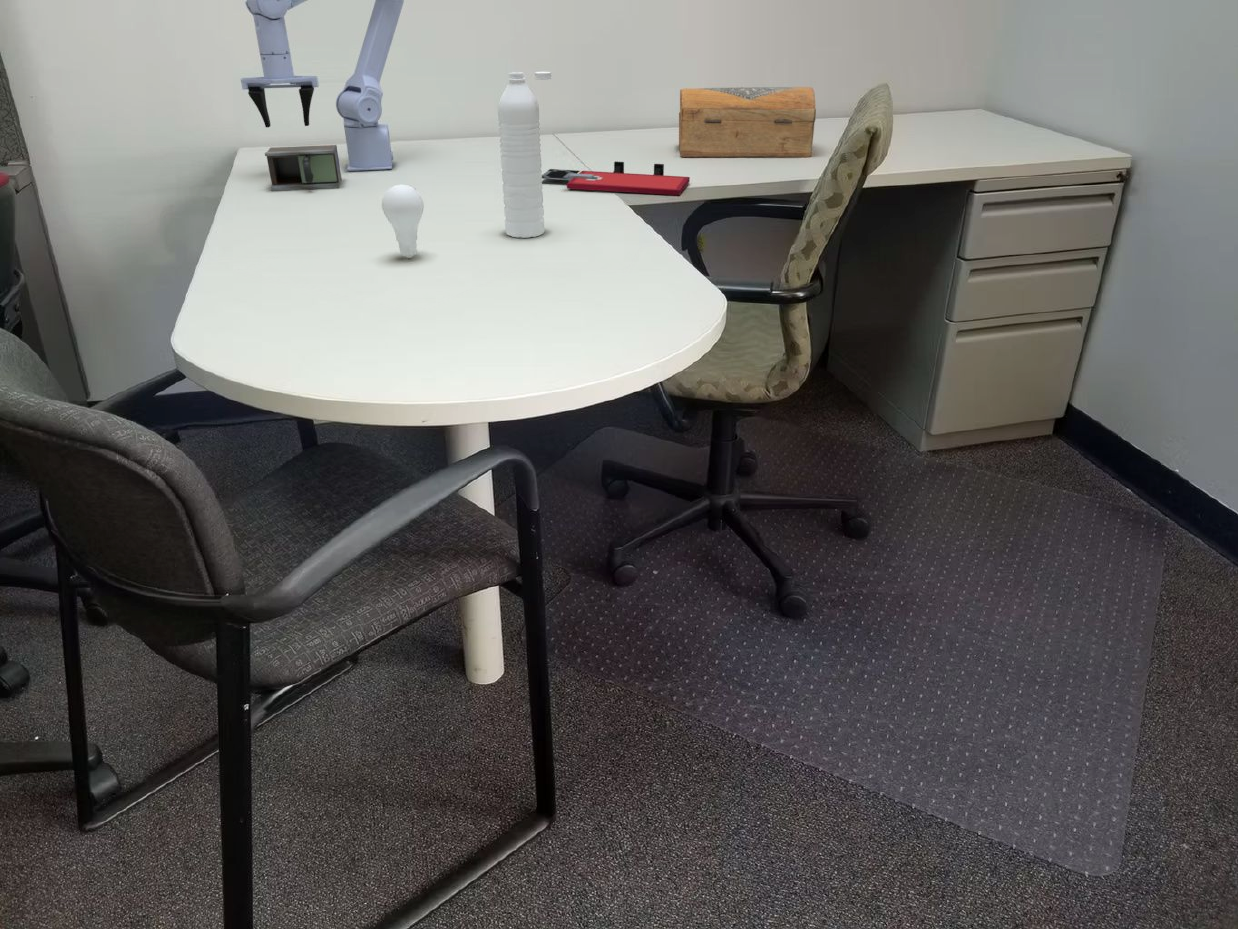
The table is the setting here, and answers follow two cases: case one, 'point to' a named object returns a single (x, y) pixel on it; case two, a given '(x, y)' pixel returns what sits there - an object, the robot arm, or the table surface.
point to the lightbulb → (404, 216)
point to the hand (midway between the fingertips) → (287, 125)
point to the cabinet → (297, 167)
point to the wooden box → (747, 122)
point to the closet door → (317, 168)
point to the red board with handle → (621, 180)
